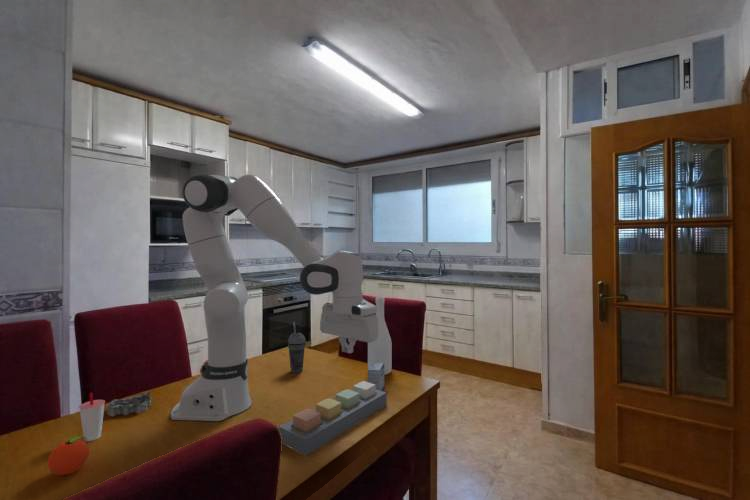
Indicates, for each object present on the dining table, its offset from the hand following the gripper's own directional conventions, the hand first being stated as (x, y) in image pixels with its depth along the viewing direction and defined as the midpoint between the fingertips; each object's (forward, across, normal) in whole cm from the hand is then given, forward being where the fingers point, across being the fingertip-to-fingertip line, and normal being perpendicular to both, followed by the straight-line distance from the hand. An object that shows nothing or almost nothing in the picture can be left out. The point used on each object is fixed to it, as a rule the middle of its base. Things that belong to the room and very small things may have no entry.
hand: (347, 352), depth 104 cm
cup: (+19, -45, -49) cm, 70 cm away
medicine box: (+19, -4, +20) cm, 28 cm away
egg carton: (+20, -56, -37) cm, 70 cm away
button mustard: (+16, 0, -8) cm, 18 cm away
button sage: (+16, 0, 0) cm, 16 cm away
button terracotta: (+16, 0, -16) cm, 22 cm away
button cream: (+16, 0, +8) cm, 18 cm away
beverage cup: (+19, -41, +16) cm, 48 cm away
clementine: (+19, -32, -56) cm, 68 cm away
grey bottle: (+19, -14, +36) cm, 43 cm away
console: (+19, 0, -4) cm, 19 cm away
